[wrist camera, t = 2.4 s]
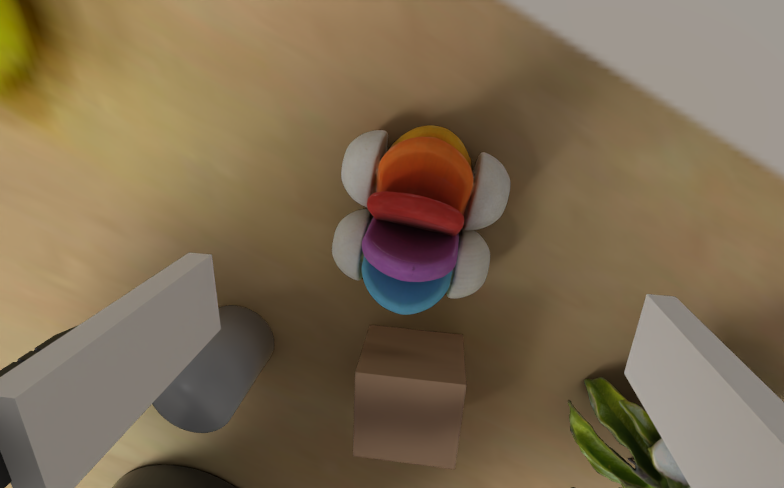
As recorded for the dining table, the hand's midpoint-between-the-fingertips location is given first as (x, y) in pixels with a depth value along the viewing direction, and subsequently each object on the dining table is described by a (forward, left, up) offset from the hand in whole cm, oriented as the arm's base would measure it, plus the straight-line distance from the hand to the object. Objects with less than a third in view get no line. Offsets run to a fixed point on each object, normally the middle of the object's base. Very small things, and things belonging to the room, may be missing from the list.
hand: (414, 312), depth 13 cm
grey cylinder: (-10, +12, -12) cm, 20 cm away
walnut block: (-11, 0, -12) cm, 17 cm away
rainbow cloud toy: (0, +1, -13) cm, 13 cm away
